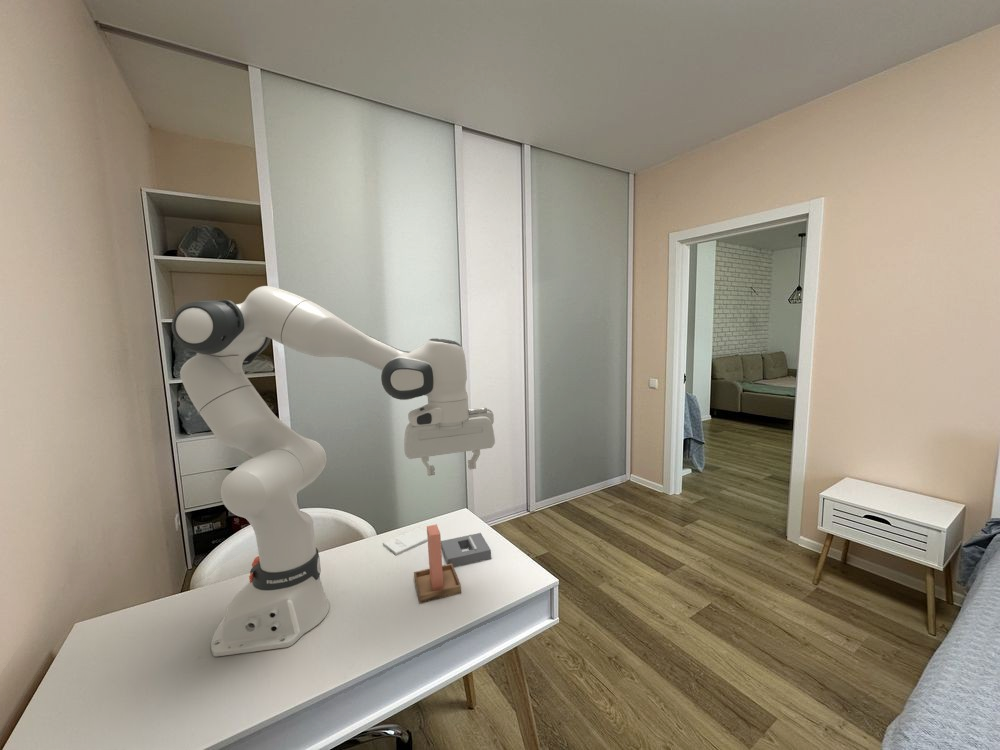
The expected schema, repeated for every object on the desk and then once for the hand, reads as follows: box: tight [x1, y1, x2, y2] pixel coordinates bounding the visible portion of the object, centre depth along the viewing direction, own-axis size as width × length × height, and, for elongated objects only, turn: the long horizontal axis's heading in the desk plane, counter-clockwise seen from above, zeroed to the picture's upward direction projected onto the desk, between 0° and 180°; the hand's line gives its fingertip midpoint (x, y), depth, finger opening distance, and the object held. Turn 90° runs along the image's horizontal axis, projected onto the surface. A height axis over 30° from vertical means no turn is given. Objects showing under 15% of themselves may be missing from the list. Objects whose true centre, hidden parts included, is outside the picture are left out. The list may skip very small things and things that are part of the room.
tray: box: [413, 564, 462, 604], centre depth 99 cm, size 10×10×2 cm
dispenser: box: [441, 532, 492, 568], centre depth 113 cm, size 12×10×3 cm
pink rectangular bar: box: [426, 524, 444, 591], centre depth 98 cm, size 2×5×14 cm, turn 19°
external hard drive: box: [382, 527, 428, 556], centre depth 121 cm, size 2×8×12 cm
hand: (451, 471), depth 91 cm, fingers open, 8 cm apart
